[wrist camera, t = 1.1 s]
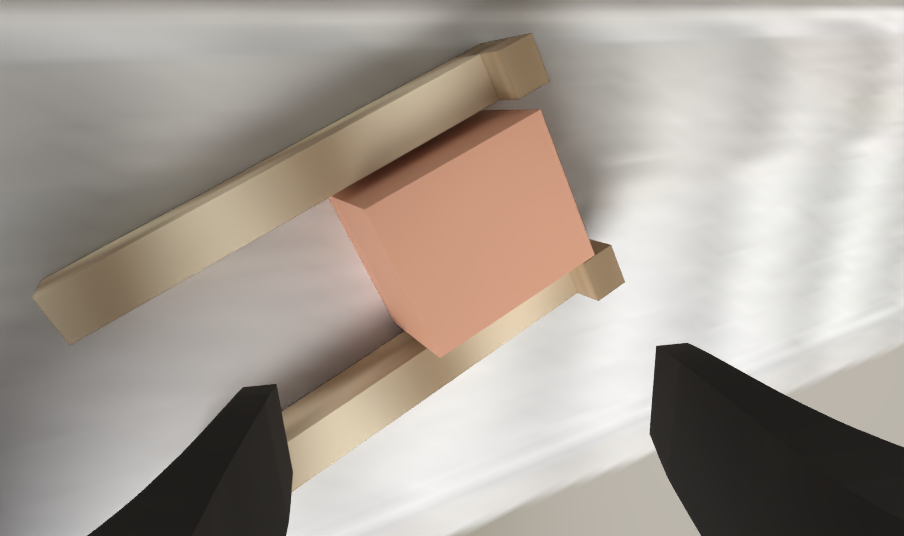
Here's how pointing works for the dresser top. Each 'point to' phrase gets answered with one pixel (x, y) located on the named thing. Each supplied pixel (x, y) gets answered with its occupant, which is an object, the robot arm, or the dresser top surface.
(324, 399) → the chute
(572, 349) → the dresser top surface
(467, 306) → the block
